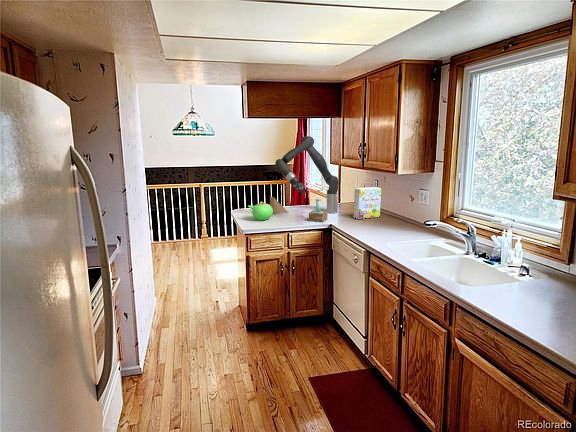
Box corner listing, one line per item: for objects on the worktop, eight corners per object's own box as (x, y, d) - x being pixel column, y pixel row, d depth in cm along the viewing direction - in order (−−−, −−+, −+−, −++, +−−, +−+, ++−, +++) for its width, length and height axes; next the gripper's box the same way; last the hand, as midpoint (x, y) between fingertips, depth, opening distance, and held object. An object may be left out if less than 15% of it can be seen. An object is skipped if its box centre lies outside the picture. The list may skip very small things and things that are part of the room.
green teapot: (261, 223, 316) (261, 204, 313) (247, 220, 327) (246, 202, 324) (276, 219, 330) (276, 201, 327) (262, 216, 340) (262, 199, 337)
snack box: (358, 220, 326) (359, 189, 320) (352, 218, 333) (353, 187, 328) (380, 218, 333) (382, 187, 328) (374, 216, 341) (375, 186, 336)
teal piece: (315, 211, 329) (315, 198, 327) (324, 212, 326) (324, 198, 324) (311, 213, 322) (312, 199, 320) (321, 214, 319) (321, 200, 317)
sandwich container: (289, 212, 358) (289, 196, 355) (273, 214, 351) (273, 197, 348) (285, 211, 366) (285, 195, 363) (269, 212, 359) (269, 196, 356)
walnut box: (313, 218, 333) (313, 210, 332) (327, 219, 328) (327, 211, 327) (308, 221, 323) (308, 212, 321) (322, 222, 318) (322, 213, 316)
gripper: (291, 176, 320) (304, 191, 318) (298, 174, 333) (311, 189, 330) (285, 182, 323) (298, 197, 321) (292, 180, 336) (305, 195, 334)
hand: (305, 193), depth 326 cm, fingers open, 8 cm apart
